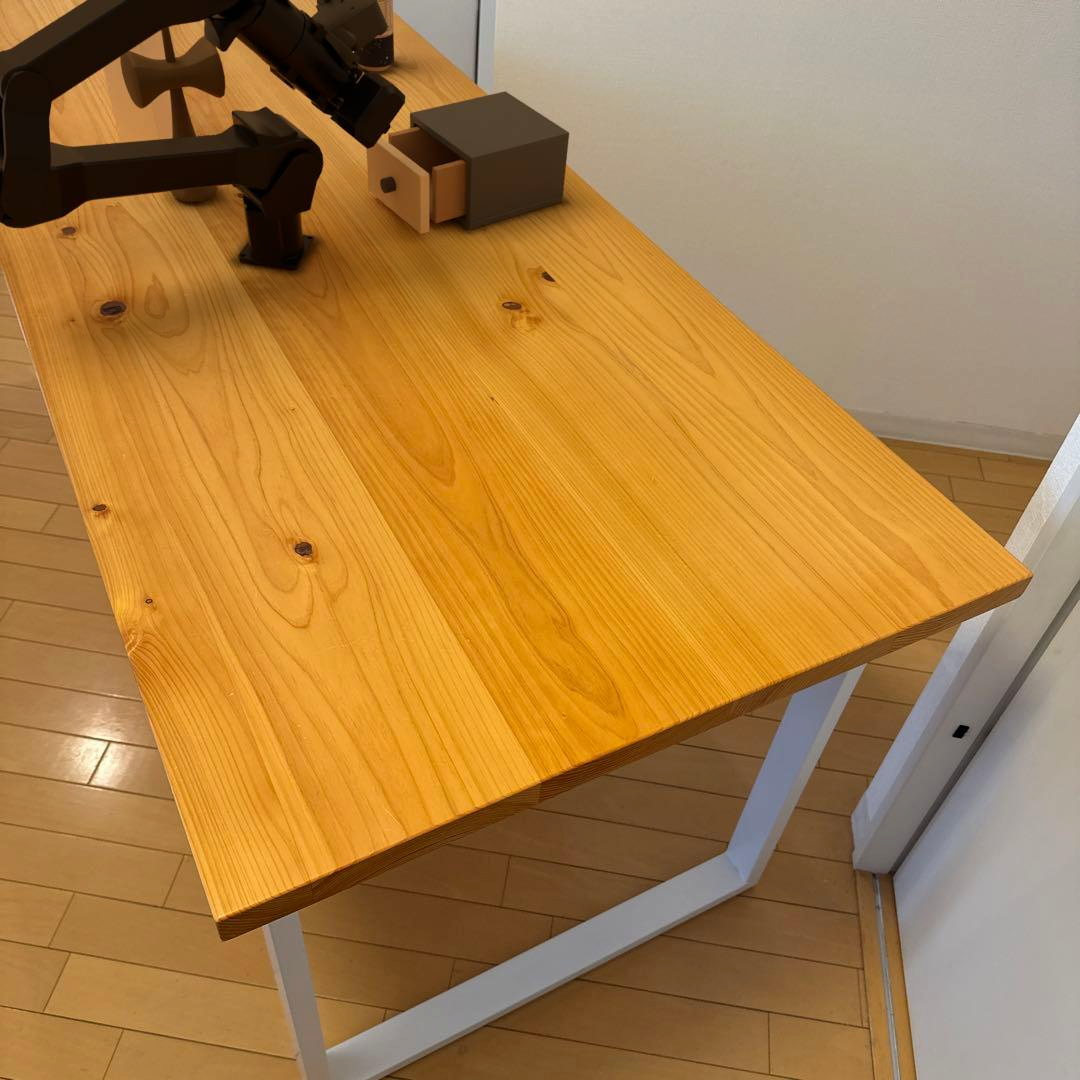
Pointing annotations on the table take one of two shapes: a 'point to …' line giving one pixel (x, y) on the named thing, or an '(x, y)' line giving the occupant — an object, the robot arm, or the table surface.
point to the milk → (127, 115)
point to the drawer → (418, 177)
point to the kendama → (176, 88)
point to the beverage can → (379, 44)
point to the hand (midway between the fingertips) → (386, 129)
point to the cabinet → (501, 155)
